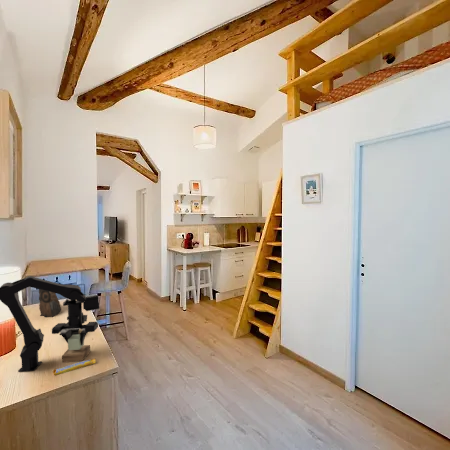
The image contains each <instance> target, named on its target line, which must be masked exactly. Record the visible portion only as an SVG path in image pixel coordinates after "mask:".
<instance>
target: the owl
mask: <svg viewBox="0 0 450 450" xmlns="http://www.w3.org/2000/svg"><path fill="white" fill-rule="evenodd" d="M38 293H39V295H38V301H39V303H38V307H39V311H40V315H39V316H40V317H42V316H44V317H43V318H55V316H57V315H58V314H60V313H61V312H62V305H61V303H60V300H59V298H58V295H57V293H53V292H49V291H45V290H41V289H38Z"/></svg>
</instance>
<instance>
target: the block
mask: <svg viewBox="0 0 450 450" xmlns="http://www.w3.org/2000/svg"><path fill="white" fill-rule="evenodd" d="M83 345H85V341H84V342H83ZM83 345H81V342H80V333H79V334H78V335H72V336H71V337H70V338H69V339H68V343H67V350H80V348H81V347H82V346H83Z"/></svg>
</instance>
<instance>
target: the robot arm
mask: <svg viewBox="0 0 450 450" xmlns="http://www.w3.org/2000/svg"><path fill="white" fill-rule="evenodd" d="M29 287H30V288H33V289H38V290H39V289H41V290H45V291H49V292H53V293H56V295H60V296H62V297H64V298H65V301H63V303H62V307H65V306H67V317H66V320H68V325H66V323H67V322H59V323H56V324H55V325H54V326H53V327H52V328H51V334H53V335H57V334H59V336H61V337H63V339H64V341H65V342H66V343H67V344H68V339H69V338H70V337H71V330H75V329H79V330H82V331H81V332H79V334H80V342H81V345H83V342H84V343H85V339H86V336H87V334H88V333H93V332H95V331H96V330H97V329H98V328H99V322H98V321H89V322H88V323H87V324H85V322H87V321H88V314H84V312H83V310H84V311H85V312H89V311H90V312H91V311H97V310H100V302H99V295H98V294H95V295H90V296H86V294H85V293H83V292H82V289H81V287H80V285H76V284H63V283H58V282H54V281H50V280H47V279H43V278H39V277H35V276H34V275H29V276H26V277H25V278H20V279H17V280H15V281H13V282H5V283H3V284H1V286H0V302H2V304H3V305H5V306H6V307H7V308H8V310H9V311H10V313H11V315H12V317H13V319H14V321H15V322H16V324H17V326H18V328H19V330H20V332H21V334H22V336H23V343H24V345H23V346H22V349H21V351H20V354H19V357H20V359H21V367H20V368H19V369H18V370H17V371H18V372H21V373H22V372H33V371H36V370H37V368H38V367H40V365H41V364H42V363H43V362H42V361H39V351H40V350H41V348H42V346H43V343H44V337H45V334H44V333H43V332H42V329H41V328H38V329H36V328H35V327H34V326H33V323H32V322H31V320H30V318H29V316H28V314H27V311H25V309H24V306H23V305H22V303H21V301H20V296H19V292H22V291H23V290H25V289H27V288H29ZM82 305H83V306H82Z"/></svg>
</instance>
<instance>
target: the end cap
mask: <svg viewBox="0 0 450 450" xmlns="http://www.w3.org/2000/svg"><path fill="white" fill-rule="evenodd" d="M65 323H66V325H68V322H65ZM78 334H80V329H75V330H71V336H72V335H78Z"/></svg>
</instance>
